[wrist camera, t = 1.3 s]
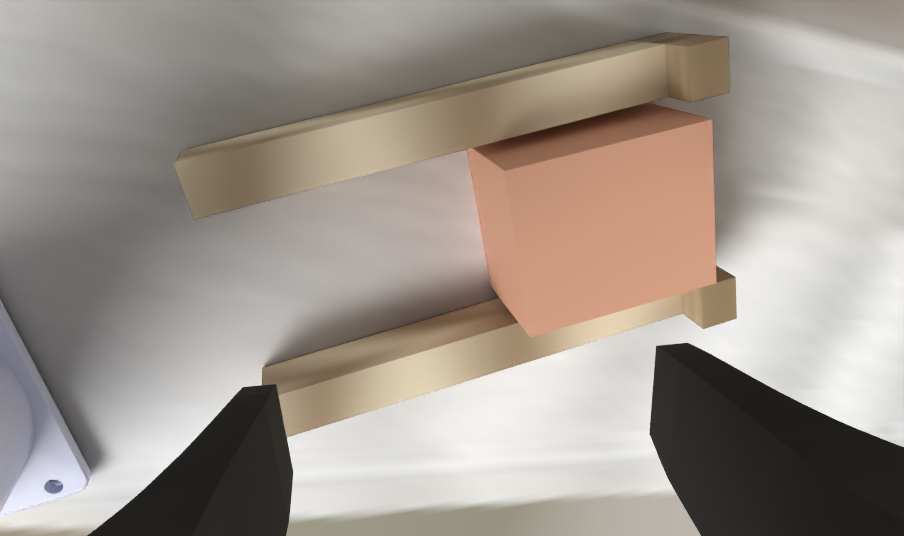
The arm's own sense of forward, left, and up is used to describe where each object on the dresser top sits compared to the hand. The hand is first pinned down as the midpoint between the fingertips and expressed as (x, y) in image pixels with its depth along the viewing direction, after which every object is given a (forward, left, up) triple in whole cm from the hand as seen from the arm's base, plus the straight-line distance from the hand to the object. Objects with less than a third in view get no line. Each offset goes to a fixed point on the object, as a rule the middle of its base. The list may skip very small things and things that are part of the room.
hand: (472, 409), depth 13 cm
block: (+6, 0, -10) cm, 11 cm away
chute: (+2, 0, -10) cm, 10 cm away
